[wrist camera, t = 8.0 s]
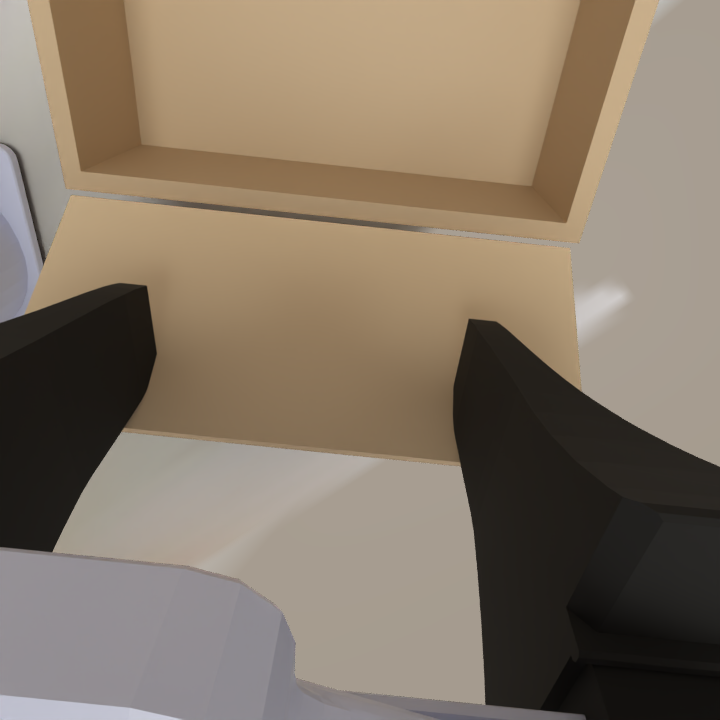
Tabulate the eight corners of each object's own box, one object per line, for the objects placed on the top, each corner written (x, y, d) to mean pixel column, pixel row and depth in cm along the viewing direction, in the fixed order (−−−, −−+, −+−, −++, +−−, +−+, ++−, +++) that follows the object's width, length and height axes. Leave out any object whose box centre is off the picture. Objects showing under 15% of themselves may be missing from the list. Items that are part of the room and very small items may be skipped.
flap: (71, 194, 14) (77, 205, 14) (-15, 413, 11) (-4, 418, 12) (570, 248, 14) (563, 256, 14) (588, 475, 11) (580, 478, 12)
